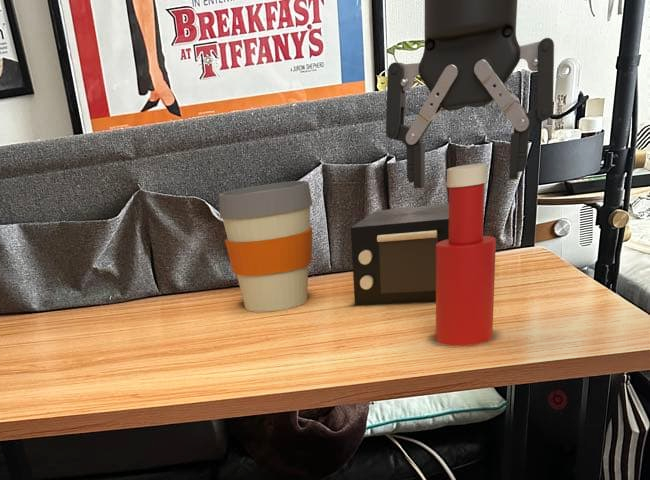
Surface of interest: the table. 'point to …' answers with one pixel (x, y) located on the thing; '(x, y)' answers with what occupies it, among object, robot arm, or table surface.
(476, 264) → the ketchup bottle
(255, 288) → the reusable coffee cup
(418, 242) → the toaster oven
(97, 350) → the table surface
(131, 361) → the table surface
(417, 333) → the table surface
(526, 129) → the robot arm
